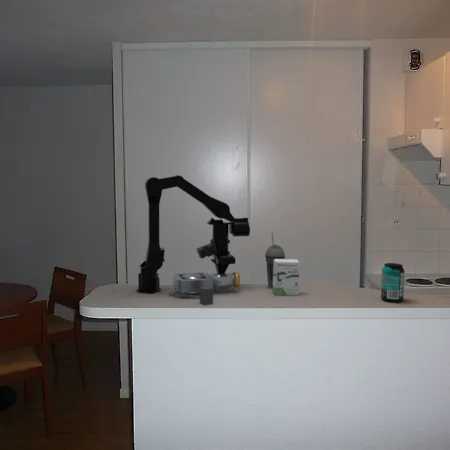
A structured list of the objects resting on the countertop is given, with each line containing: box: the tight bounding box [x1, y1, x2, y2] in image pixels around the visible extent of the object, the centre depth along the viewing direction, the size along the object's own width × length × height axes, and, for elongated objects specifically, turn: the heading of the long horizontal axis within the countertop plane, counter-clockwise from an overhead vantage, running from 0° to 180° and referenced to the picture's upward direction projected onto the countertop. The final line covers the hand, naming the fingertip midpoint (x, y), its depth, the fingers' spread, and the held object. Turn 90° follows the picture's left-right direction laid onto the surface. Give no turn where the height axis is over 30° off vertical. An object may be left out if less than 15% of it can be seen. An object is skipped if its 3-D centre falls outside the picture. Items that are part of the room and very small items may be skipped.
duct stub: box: [168, 274, 216, 300], centre depth 172 cm, size 12×12×6 cm
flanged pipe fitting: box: [172, 271, 241, 293], centre depth 173 cm, size 22×12×5 cm, turn 105°
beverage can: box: [380, 262, 406, 304], centre depth 165 cm, size 7×7×12 cm
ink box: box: [272, 258, 301, 296], centre depth 173 cm, size 9×5×12 cm, turn 93°
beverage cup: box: [264, 232, 286, 289], centre depth 182 cm, size 7×7×20 cm
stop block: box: [199, 286, 214, 306], centre depth 160 cm, size 3×3×5 cm
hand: (220, 279), depth 181 cm, fingers closed
